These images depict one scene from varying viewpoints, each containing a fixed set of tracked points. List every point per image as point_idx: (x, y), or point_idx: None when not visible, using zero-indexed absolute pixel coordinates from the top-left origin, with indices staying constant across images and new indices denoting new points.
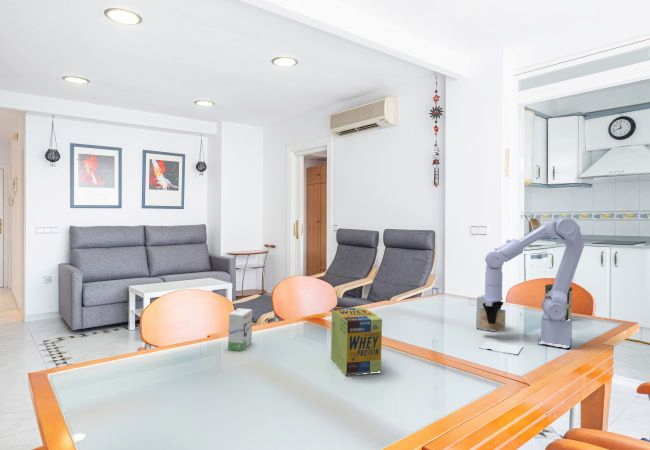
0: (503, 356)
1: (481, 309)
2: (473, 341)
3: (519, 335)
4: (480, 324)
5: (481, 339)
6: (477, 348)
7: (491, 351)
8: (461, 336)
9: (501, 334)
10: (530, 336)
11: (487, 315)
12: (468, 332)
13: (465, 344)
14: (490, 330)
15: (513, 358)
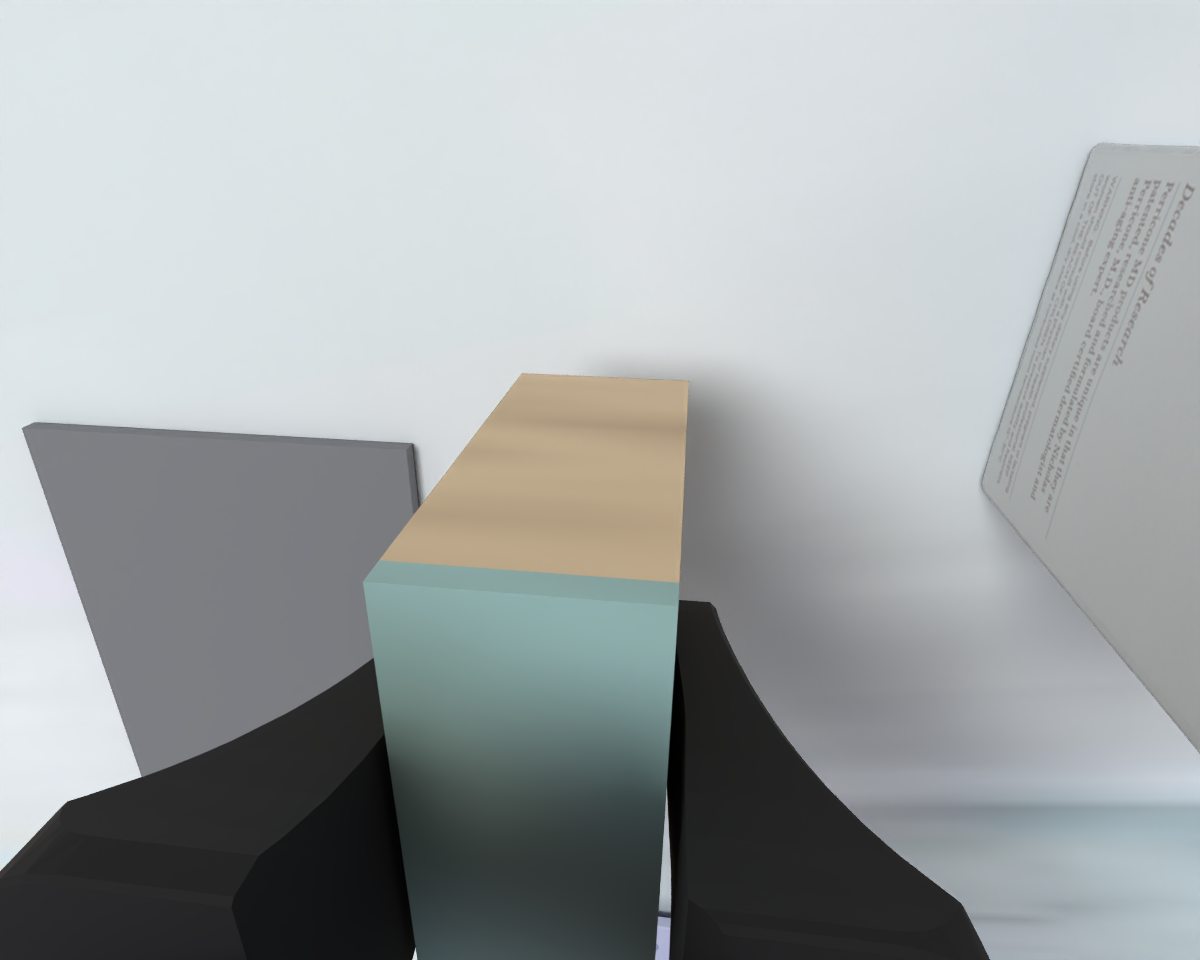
0: (14, 671)
1: (371, 606)
2: (262, 296)
3: (958, 766)
4: (505, 405)
5: (444, 378)
6: (20, 409)
7: (57, 561)
8: (388, 32)
9: (896, 580)
10: (970, 860)
11: (365, 677)
12: (742, 75)
13: (36, 227)
14: (1003, 429)
15: (40, 743)
